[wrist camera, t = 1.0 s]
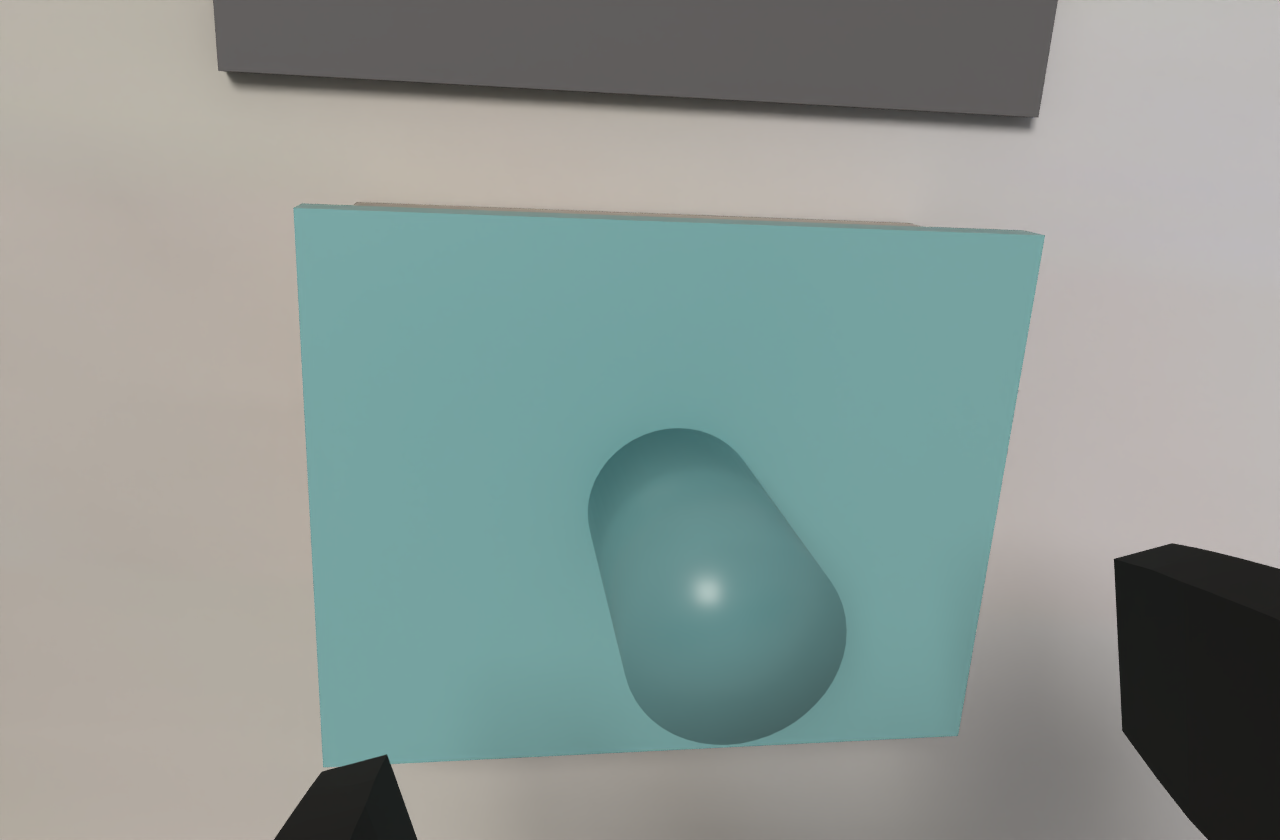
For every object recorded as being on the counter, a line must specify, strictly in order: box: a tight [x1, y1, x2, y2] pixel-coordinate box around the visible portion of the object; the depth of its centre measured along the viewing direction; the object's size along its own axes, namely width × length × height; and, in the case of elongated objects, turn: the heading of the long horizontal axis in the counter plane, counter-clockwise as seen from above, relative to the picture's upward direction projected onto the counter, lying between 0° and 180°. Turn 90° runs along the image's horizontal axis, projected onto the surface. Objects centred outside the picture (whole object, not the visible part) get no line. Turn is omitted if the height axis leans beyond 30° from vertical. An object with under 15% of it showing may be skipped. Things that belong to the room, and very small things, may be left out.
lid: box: [294, 204, 1045, 767], centre depth 14 cm, size 11×9×5 cm
